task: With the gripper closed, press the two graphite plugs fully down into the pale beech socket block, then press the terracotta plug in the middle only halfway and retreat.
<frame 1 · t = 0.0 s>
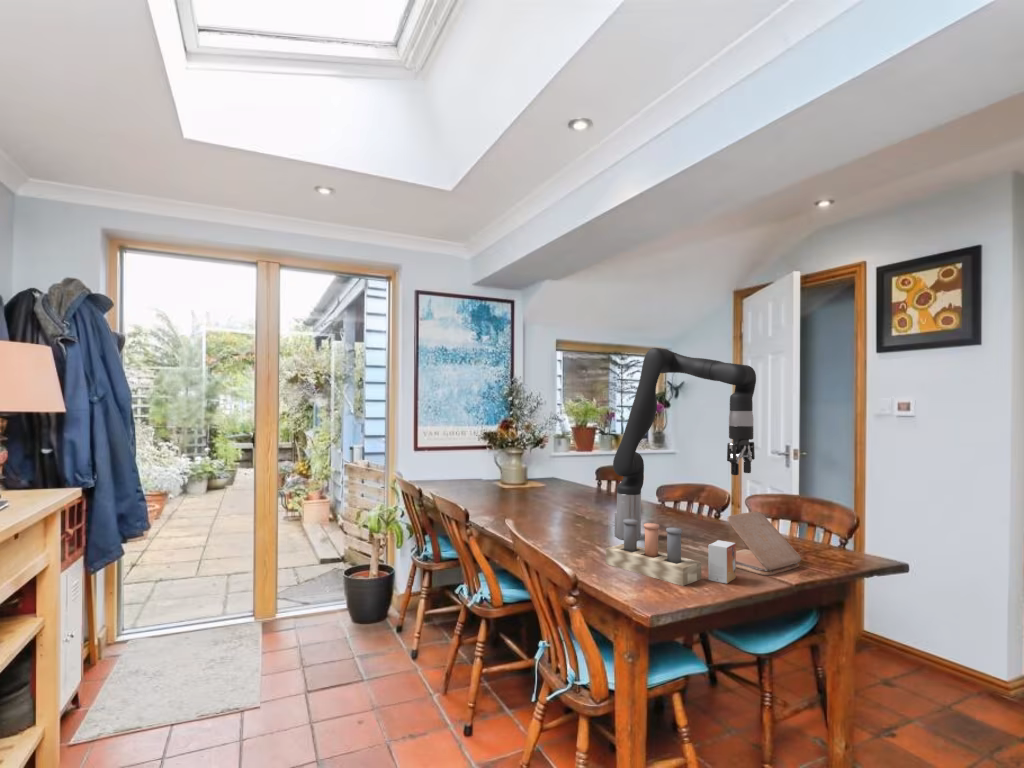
hand: (741, 474, 181), 29 cm above the table, fingers open, 8 cm apart
plug left: (630, 535, 177), point 9 cm above the table, slide at 0.0 cm
plug right: (674, 545, 165), point 9 cm above the table, slide at 0.0 cm
case: (755, 565, 181), on the table
socket block: (651, 571, 171), on the table
plug mid: (651, 540, 171), point 9 cm above the table, slide at 0.0 cm
small box: (722, 579, 164), on the table
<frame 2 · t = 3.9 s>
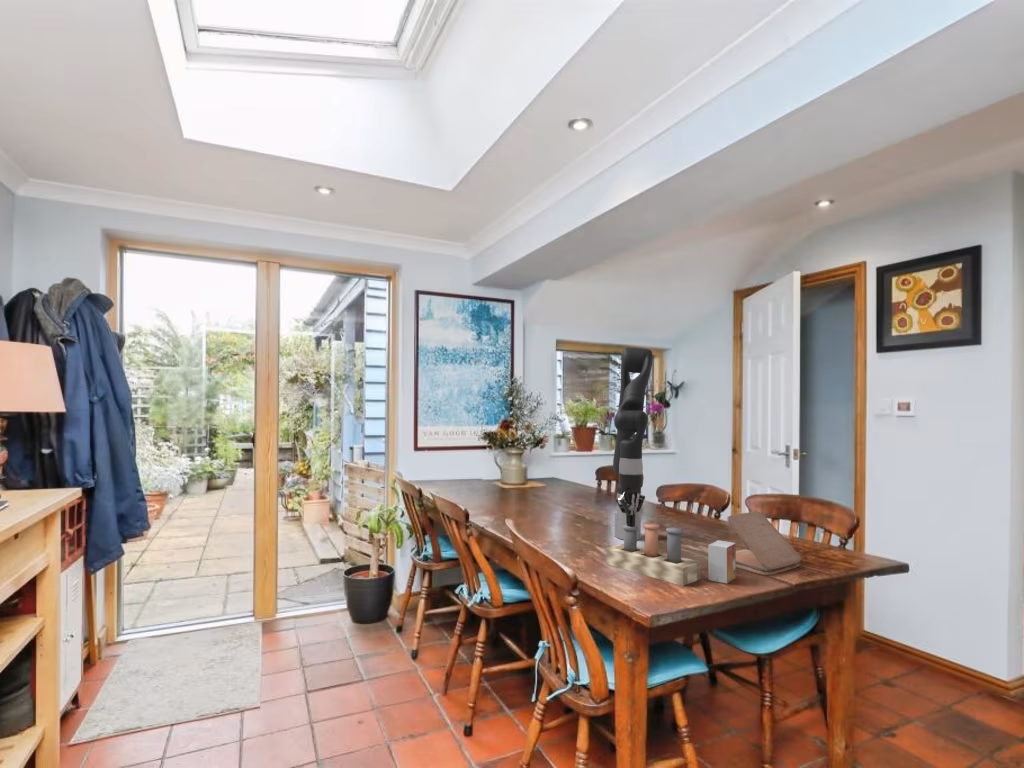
hand: (630, 526, 177), 12 cm above the table, fingers closed
plug left: (630, 541, 177), point 8 cm above the table, slide at 1.8 cm, touching gripper
everything else where it was.
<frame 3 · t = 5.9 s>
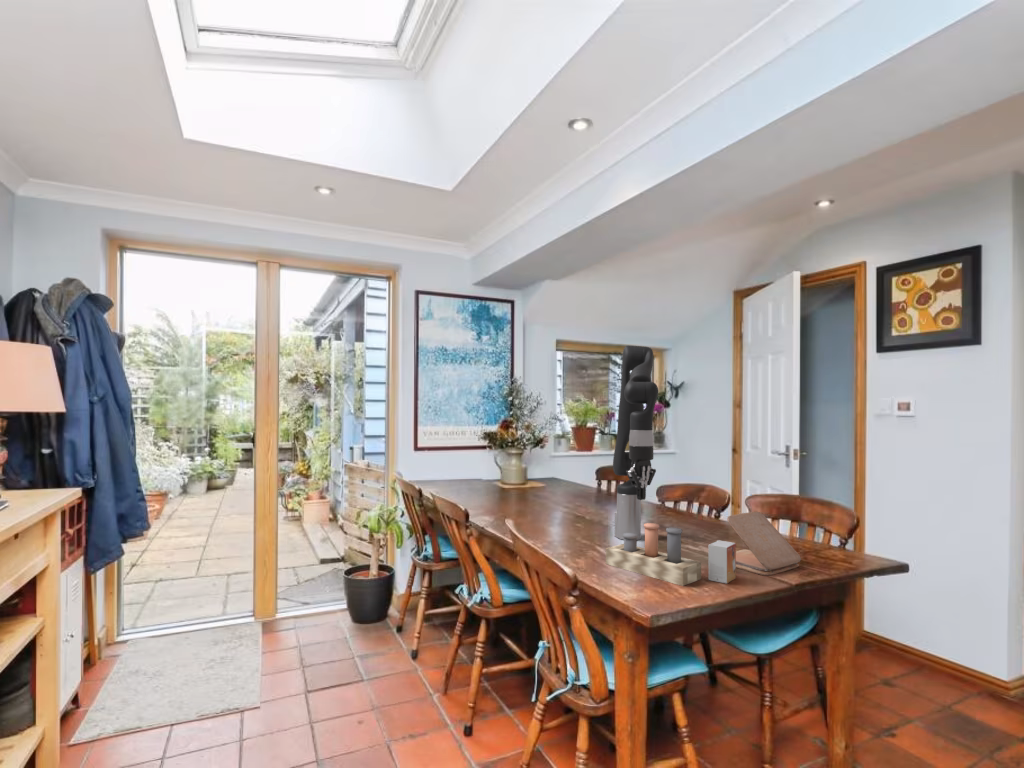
hand: (641, 499, 174), 22 cm above the table, fingers closed
plug left: (630, 549, 177), point 5 cm above the table, slide at 4.5 cm
everything else where it was.
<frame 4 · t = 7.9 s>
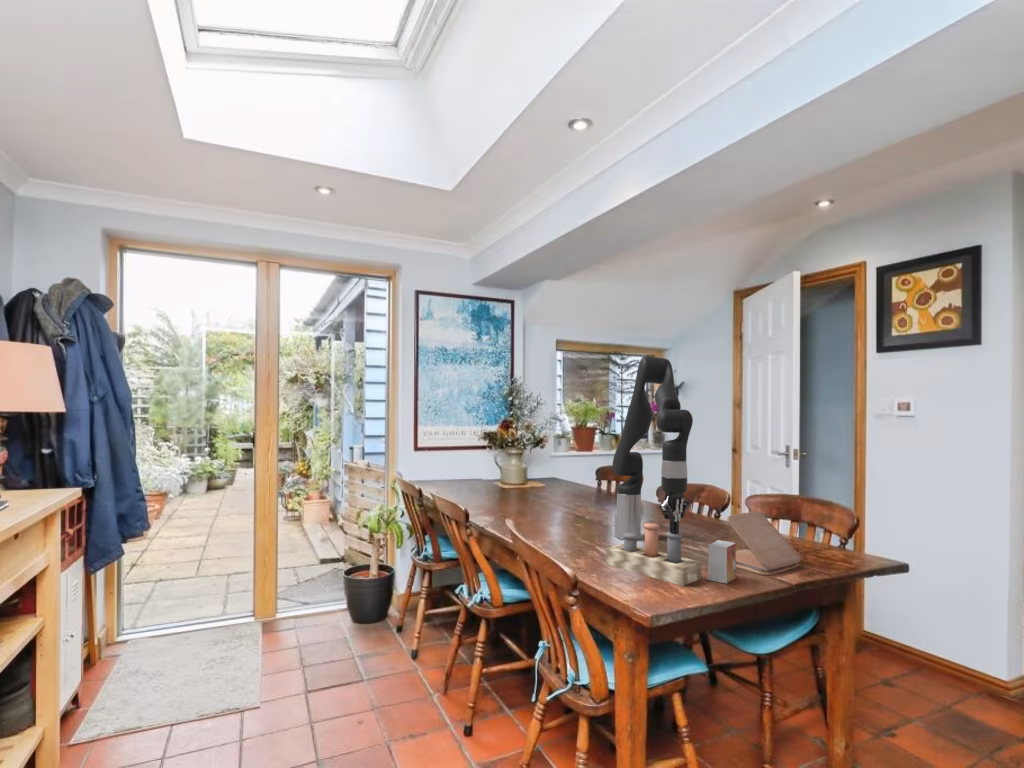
hand: (674, 533, 165), 13 cm above the table, fingers closed
plug right: (674, 549, 165), point 8 cm above the table, slide at 1.3 cm, touching gripper
everything else where it was.
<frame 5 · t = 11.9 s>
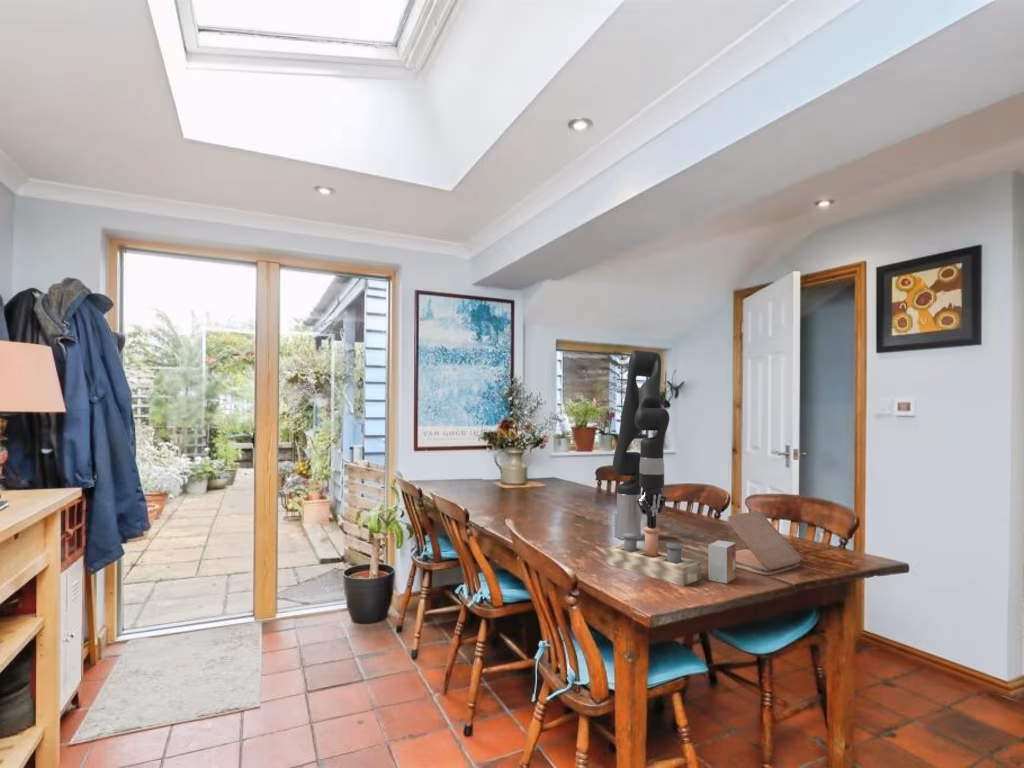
hand: (651, 527, 171), 13 cm above the table, fingers closed
plug right: (674, 560, 165), point 5 cm above the table, slide at 4.5 cm
plug mid: (651, 543, 171), point 8 cm above the table, slide at 1.0 cm, touching gripper
everything else where it was.
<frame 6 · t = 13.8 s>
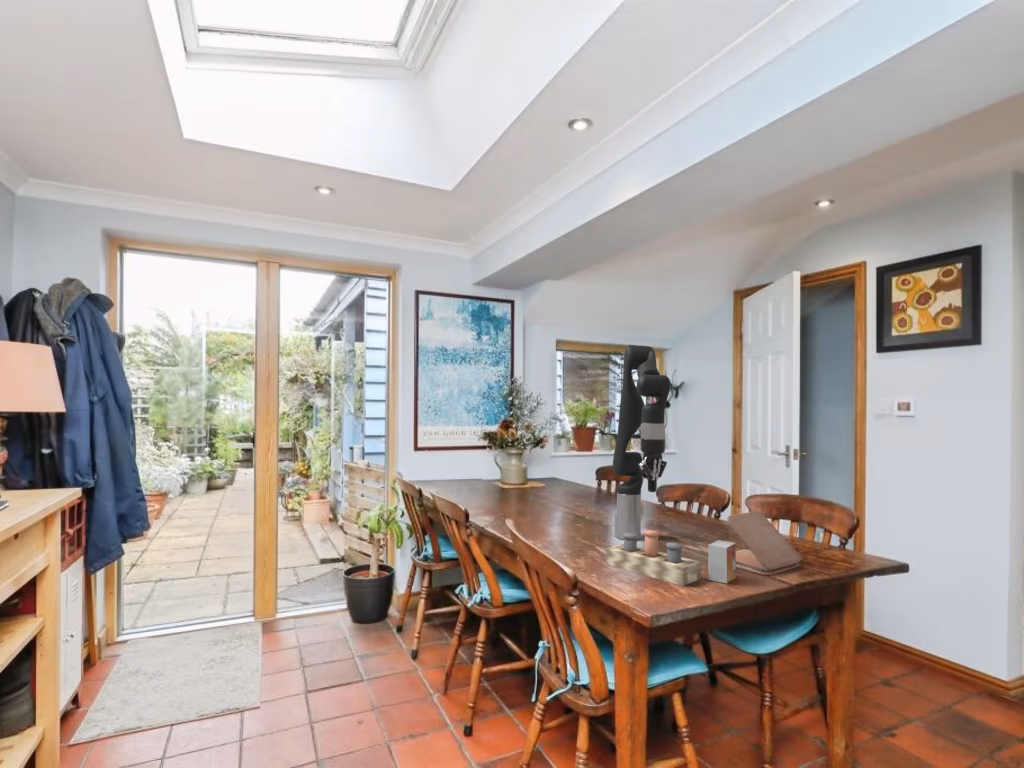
hand: (652, 491, 176), 24 cm above the table, fingers closed
plug mid: (651, 547, 171), point 7 cm above the table, slide at 2.1 cm
everything else where it was.
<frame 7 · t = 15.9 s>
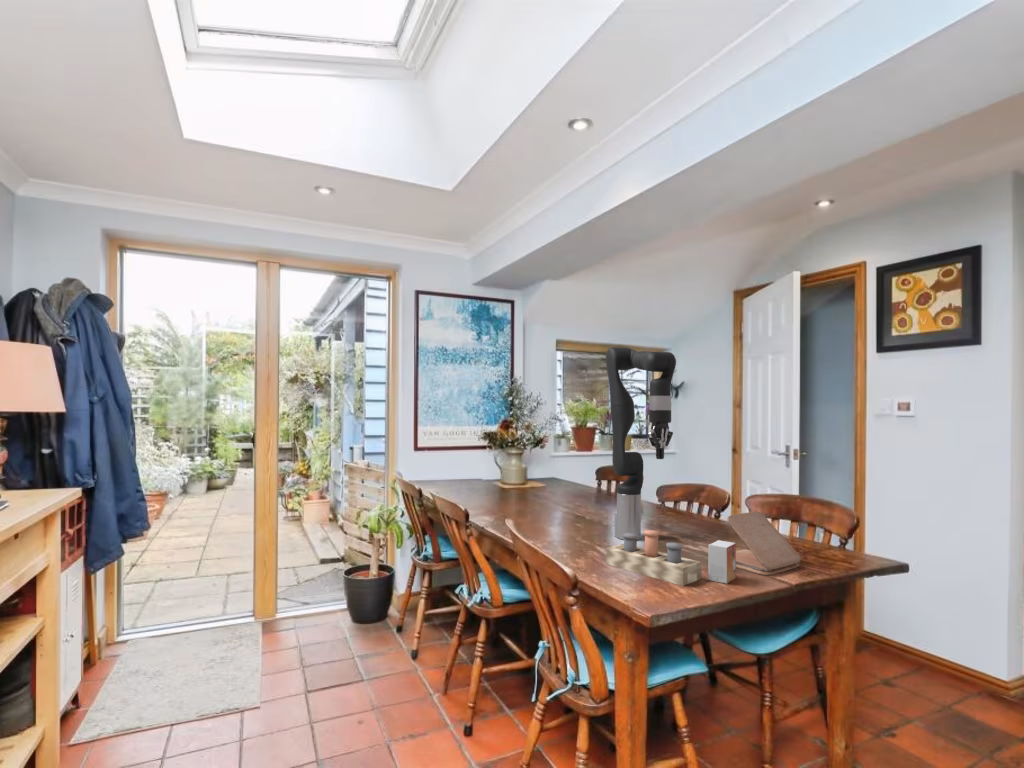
hand: (659, 458, 191), 33 cm above the table, fingers closed
nothing on the table moved.
at the end: plug left slide at 4.5 cm; plug right slide at 4.5 cm; plug mid slide at 2.1 cm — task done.
